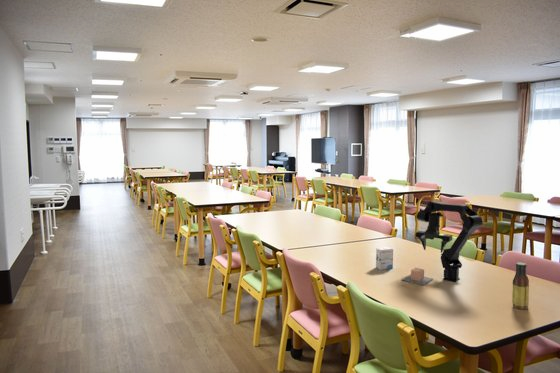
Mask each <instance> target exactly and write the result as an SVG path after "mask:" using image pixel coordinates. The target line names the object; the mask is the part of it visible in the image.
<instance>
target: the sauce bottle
mask: <svg viewBox="0 0 560 373" xmlns="http://www.w3.org/2000/svg"><path fill="white" fill-rule="evenodd" d="M527 266H528V265H527V263H525V262H520V261H519V262H515V275H514V277H513V279H512V291H511V292H512V298H511V299H512V300H511V303H512V306H513V308H515V309H518V310H528V309H529V305H530V304H529V302H530V282H529V281H530V280H529V277H528V275H527Z"/></svg>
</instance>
